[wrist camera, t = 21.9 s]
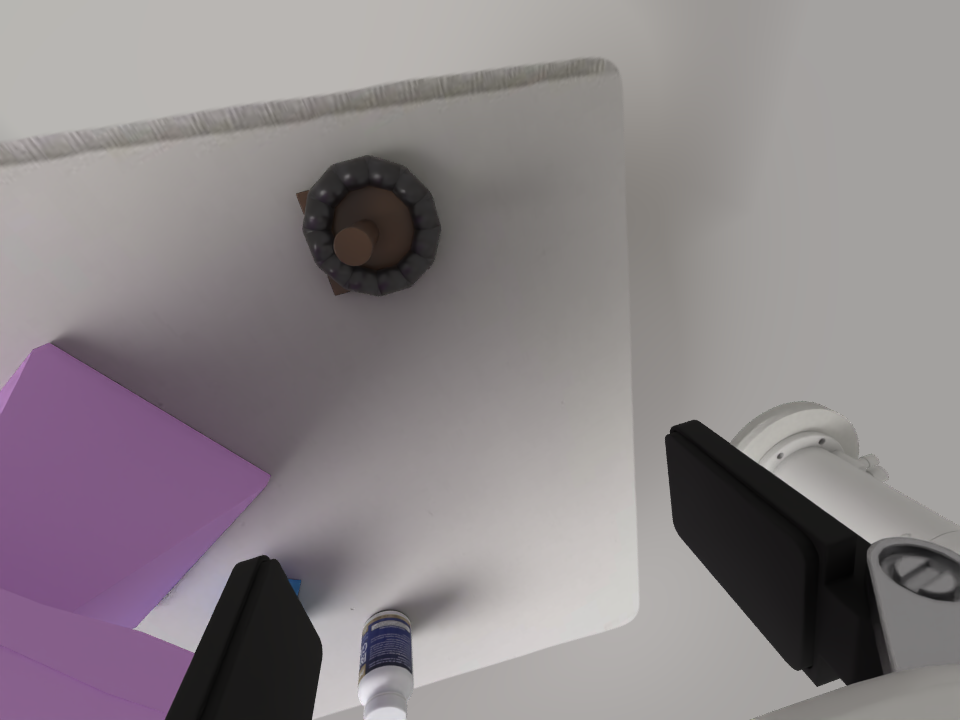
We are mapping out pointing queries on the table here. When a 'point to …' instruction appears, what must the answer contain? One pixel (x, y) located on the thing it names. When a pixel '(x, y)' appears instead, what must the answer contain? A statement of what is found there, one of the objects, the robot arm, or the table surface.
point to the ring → (388, 178)
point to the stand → (369, 229)
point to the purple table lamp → (99, 539)
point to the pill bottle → (386, 666)
